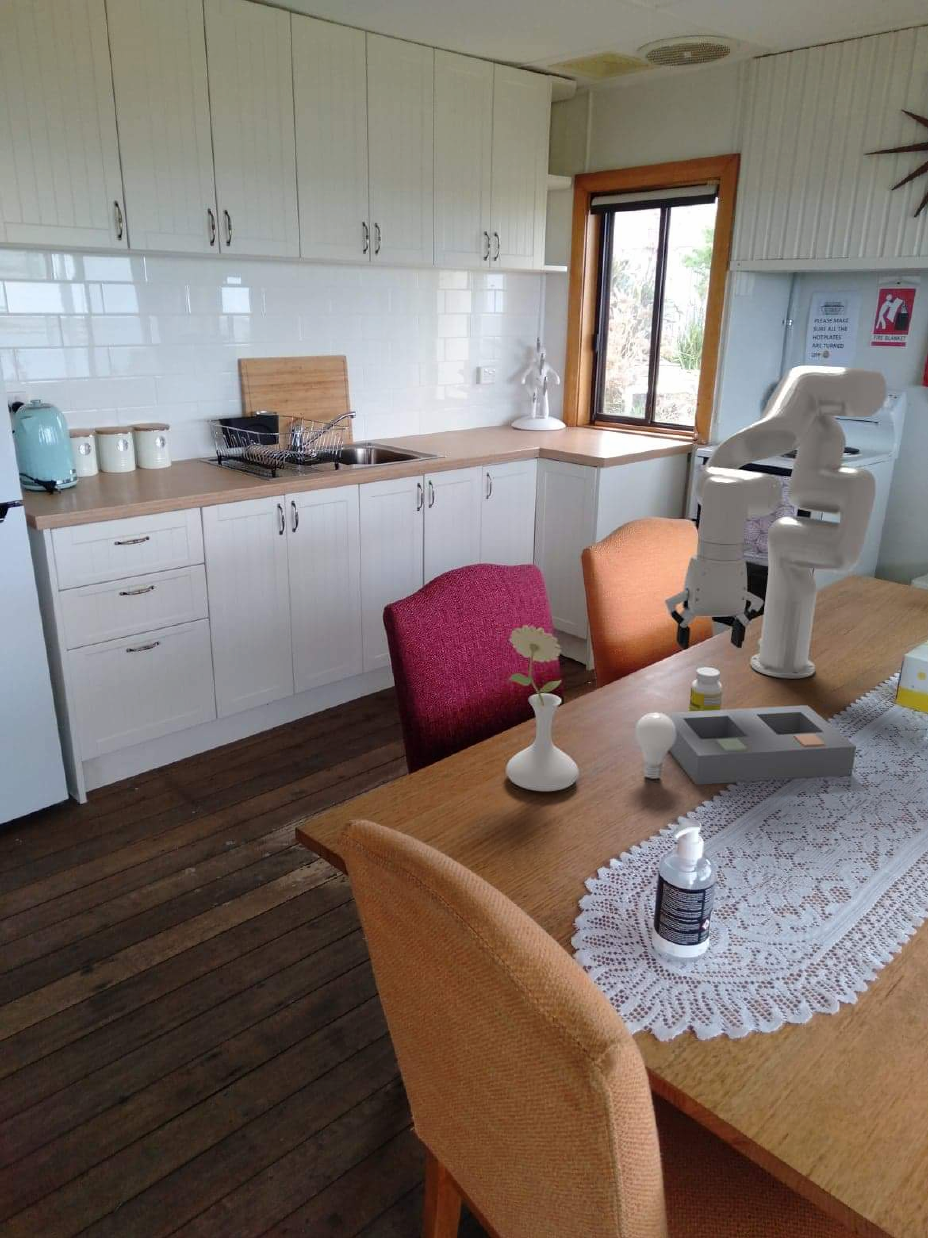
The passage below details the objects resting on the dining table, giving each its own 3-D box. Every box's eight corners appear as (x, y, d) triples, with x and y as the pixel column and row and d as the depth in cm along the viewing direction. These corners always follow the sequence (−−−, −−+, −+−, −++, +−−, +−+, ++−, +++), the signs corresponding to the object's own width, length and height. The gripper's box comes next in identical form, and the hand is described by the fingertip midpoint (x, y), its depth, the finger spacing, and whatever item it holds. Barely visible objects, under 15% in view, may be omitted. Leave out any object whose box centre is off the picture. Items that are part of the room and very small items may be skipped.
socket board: (661, 739, 159) (663, 711, 158) (803, 731, 163) (807, 703, 161) (695, 784, 144) (698, 754, 143) (851, 774, 148) (856, 744, 146)
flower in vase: (593, 780, 145) (601, 630, 137) (546, 807, 138) (552, 649, 130) (530, 753, 154) (534, 610, 146) (482, 776, 146) (485, 627, 138)
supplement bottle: (684, 716, 169) (688, 665, 165) (713, 715, 169) (718, 665, 166) (693, 728, 163) (698, 677, 160) (723, 728, 164) (728, 676, 161)
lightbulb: (675, 772, 148) (680, 709, 145) (669, 790, 142) (675, 725, 139) (635, 765, 150) (639, 703, 147) (628, 783, 144) (633, 719, 141)
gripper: (758, 544, 161) (747, 638, 166) (663, 545, 158) (654, 640, 164) (778, 555, 154) (766, 652, 159) (678, 556, 151) (669, 655, 156)
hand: (709, 646), depth 161 cm, fingers open, 9 cm apart
